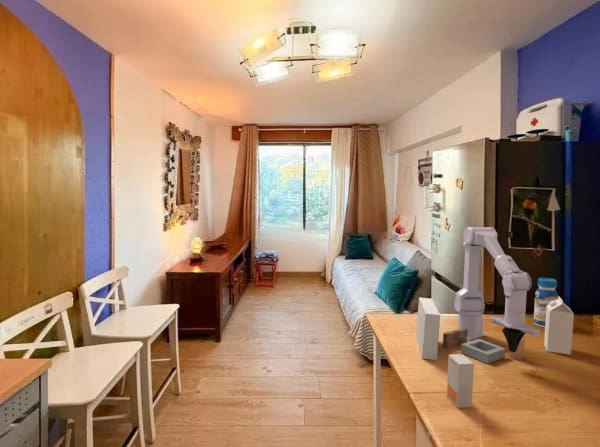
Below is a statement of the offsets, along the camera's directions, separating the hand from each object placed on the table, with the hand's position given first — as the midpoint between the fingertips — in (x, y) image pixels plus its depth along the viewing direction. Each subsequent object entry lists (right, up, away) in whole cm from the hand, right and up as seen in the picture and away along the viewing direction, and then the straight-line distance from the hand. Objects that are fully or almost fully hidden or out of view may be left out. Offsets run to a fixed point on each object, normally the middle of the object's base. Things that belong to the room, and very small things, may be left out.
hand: (512, 351), depth 123 cm
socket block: (-5, -5, +9) cm, 12 cm away
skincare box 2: (-26, -7, -20) cm, 34 cm away
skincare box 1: (-23, -4, +15) cm, 28 cm away
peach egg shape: (+6, -5, +7) cm, 10 cm away
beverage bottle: (+36, -3, +41) cm, 55 cm away
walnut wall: (-11, -4, +19) cm, 22 cm away
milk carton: (+24, -5, +15) cm, 29 cm away
